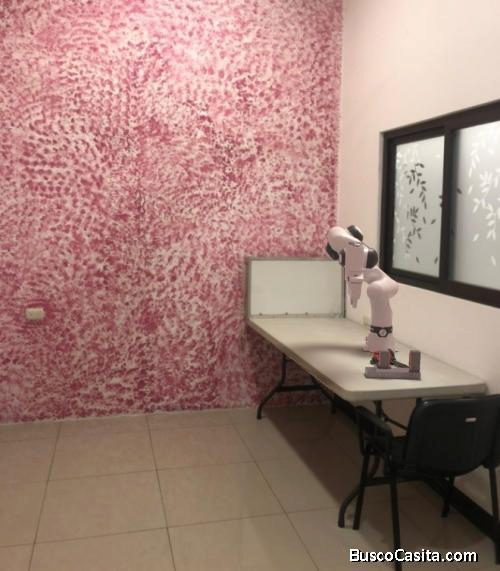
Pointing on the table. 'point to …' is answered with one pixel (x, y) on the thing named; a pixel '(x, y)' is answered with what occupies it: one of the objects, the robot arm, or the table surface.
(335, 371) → the table surface
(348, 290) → the robot arm
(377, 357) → the valve
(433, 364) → the table surface
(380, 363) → the block
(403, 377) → the grey base with post
